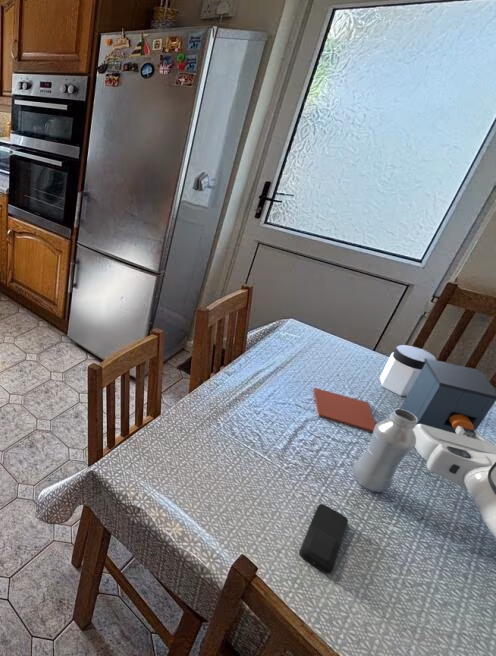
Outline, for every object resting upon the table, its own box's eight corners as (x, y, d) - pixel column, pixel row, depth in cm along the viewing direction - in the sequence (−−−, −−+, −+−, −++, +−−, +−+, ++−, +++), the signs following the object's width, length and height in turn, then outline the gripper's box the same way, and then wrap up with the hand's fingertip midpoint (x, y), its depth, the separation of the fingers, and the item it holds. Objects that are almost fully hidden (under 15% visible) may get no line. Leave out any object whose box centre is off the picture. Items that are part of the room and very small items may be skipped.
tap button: (465, 427, 94) (472, 417, 93) (469, 434, 92) (476, 424, 91) (446, 422, 96) (452, 411, 95) (450, 429, 94) (456, 418, 93)
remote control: (317, 507, 87) (297, 555, 78) (319, 501, 86) (300, 549, 77) (346, 523, 84) (329, 576, 74) (349, 518, 83) (333, 570, 74)
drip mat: (367, 404, 113) (368, 402, 113) (377, 433, 104) (378, 431, 103) (313, 389, 119) (314, 387, 118) (318, 416, 109) (319, 414, 109)
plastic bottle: (382, 477, 92) (421, 410, 84) (390, 501, 87) (433, 432, 79) (346, 465, 96) (380, 399, 87) (352, 488, 90) (388, 420, 82)
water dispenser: (443, 429, 105) (480, 370, 97) (459, 459, 97) (501, 397, 89) (393, 415, 109) (425, 357, 101) (405, 442, 101) (440, 382, 93)
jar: (403, 378, 122) (420, 345, 117) (427, 397, 115) (447, 363, 110) (370, 377, 123) (386, 344, 118) (392, 396, 116) (410, 361, 110)
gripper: (584, 490, 75) (543, 438, 86) (430, 445, 84) (411, 403, 95) (563, 513, 78) (526, 459, 88) (417, 466, 87) (399, 423, 98)
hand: (465, 430), depth 92 cm, fingers closed
